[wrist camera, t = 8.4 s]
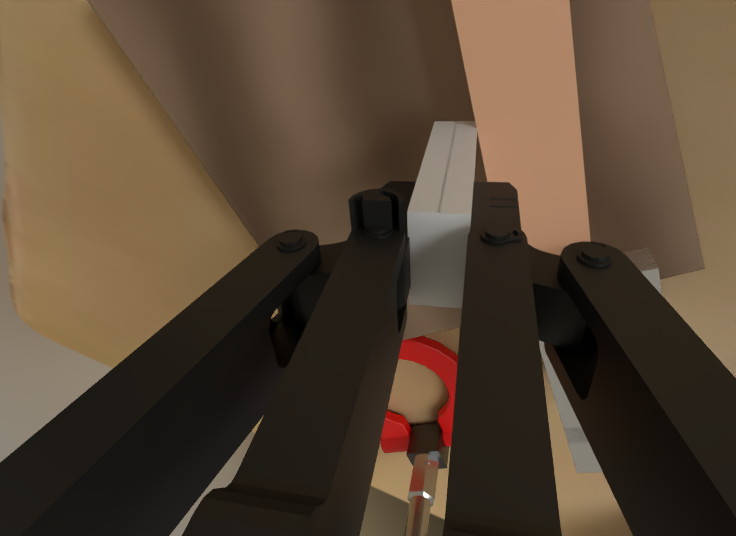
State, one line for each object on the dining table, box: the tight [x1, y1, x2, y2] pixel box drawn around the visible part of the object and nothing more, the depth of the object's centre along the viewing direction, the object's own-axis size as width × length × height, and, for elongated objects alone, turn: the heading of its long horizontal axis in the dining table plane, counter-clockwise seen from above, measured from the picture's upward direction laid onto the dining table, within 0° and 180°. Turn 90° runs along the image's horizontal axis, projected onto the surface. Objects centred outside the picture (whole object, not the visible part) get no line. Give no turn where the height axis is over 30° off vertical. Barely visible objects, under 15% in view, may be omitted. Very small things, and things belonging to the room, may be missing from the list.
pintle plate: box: [87, 0, 705, 340], centre depth 19 cm, size 18×20×2 cm
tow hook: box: [380, 336, 458, 536], centre depth 24 cm, size 8×13×9 cm
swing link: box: [451, 0, 591, 255], centre depth 15 cm, size 18×5×4 cm, turn 19°
